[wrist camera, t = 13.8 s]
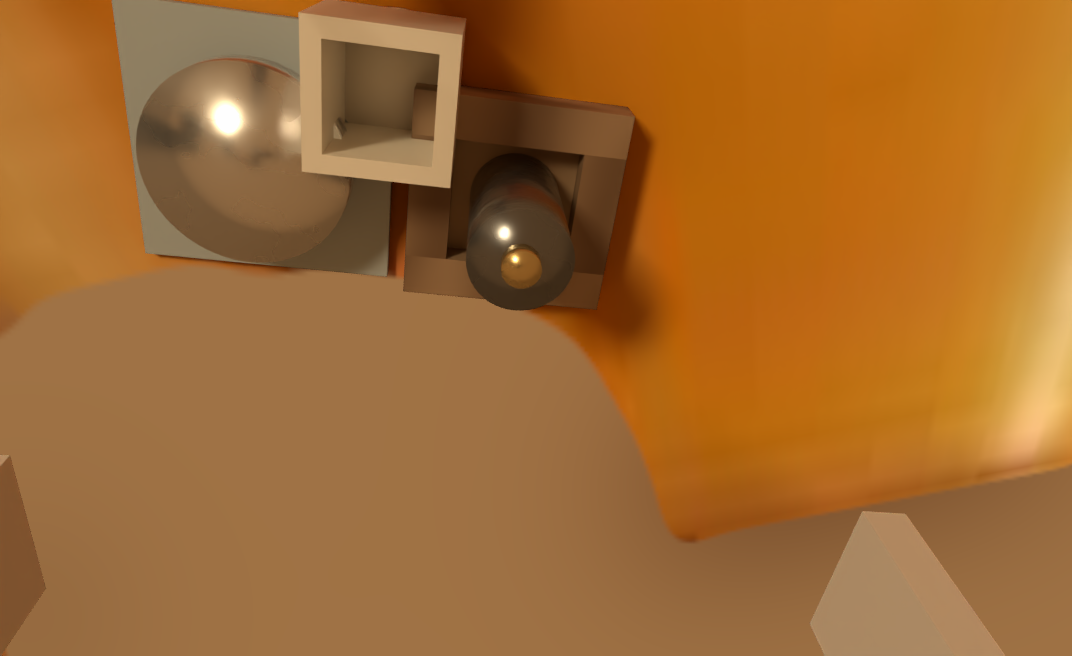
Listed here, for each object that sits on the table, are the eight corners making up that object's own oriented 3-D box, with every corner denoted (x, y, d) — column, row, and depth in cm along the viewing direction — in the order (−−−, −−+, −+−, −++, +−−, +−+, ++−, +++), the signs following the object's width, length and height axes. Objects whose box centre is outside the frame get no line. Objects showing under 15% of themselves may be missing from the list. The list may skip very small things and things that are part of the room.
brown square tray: (407, 274, 38) (403, 291, 37) (417, 80, 34) (414, 88, 32) (592, 292, 40) (596, 309, 38) (627, 107, 35) (635, 117, 33)
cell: (467, 233, 37) (461, 314, 29) (474, 148, 35) (469, 212, 27) (552, 241, 37) (568, 323, 30) (564, 157, 35) (585, 223, 28)
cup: (329, 134, 35) (301, 171, 29) (329, -3, 32) (298, 12, 26) (455, 148, 35) (450, 188, 30) (466, 16, 32) (462, 34, 27)
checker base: (149, 249, 37) (145, 253, 36) (116, -8, 31) (111, -7, 31) (388, 272, 38) (386, 276, 38) (398, 31, 33) (396, 32, 32)
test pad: (161, 240, 35) (149, 252, 33) (137, 40, 30) (121, 46, 29) (353, 259, 36) (348, 271, 34) (356, 69, 31) (350, 75, 30)
